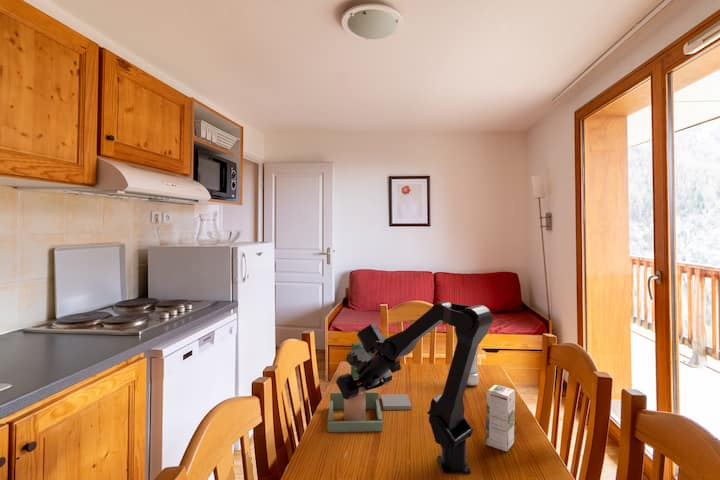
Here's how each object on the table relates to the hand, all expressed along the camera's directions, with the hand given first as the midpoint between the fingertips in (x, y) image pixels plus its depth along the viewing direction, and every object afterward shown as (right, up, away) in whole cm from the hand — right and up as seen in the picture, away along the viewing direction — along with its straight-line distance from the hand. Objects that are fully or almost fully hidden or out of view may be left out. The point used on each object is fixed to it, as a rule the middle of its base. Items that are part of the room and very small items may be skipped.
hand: (351, 393), depth 115 cm
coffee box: (+3, -7, +35) cm, 35 cm away
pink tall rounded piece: (+1, -7, -1) cm, 7 cm away
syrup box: (+40, -7, -15) cm, 43 cm away
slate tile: (+14, -7, +9) cm, 19 cm away
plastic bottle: (+43, -7, +26) cm, 51 cm away
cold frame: (+1, -7, -1) cm, 7 cm away
